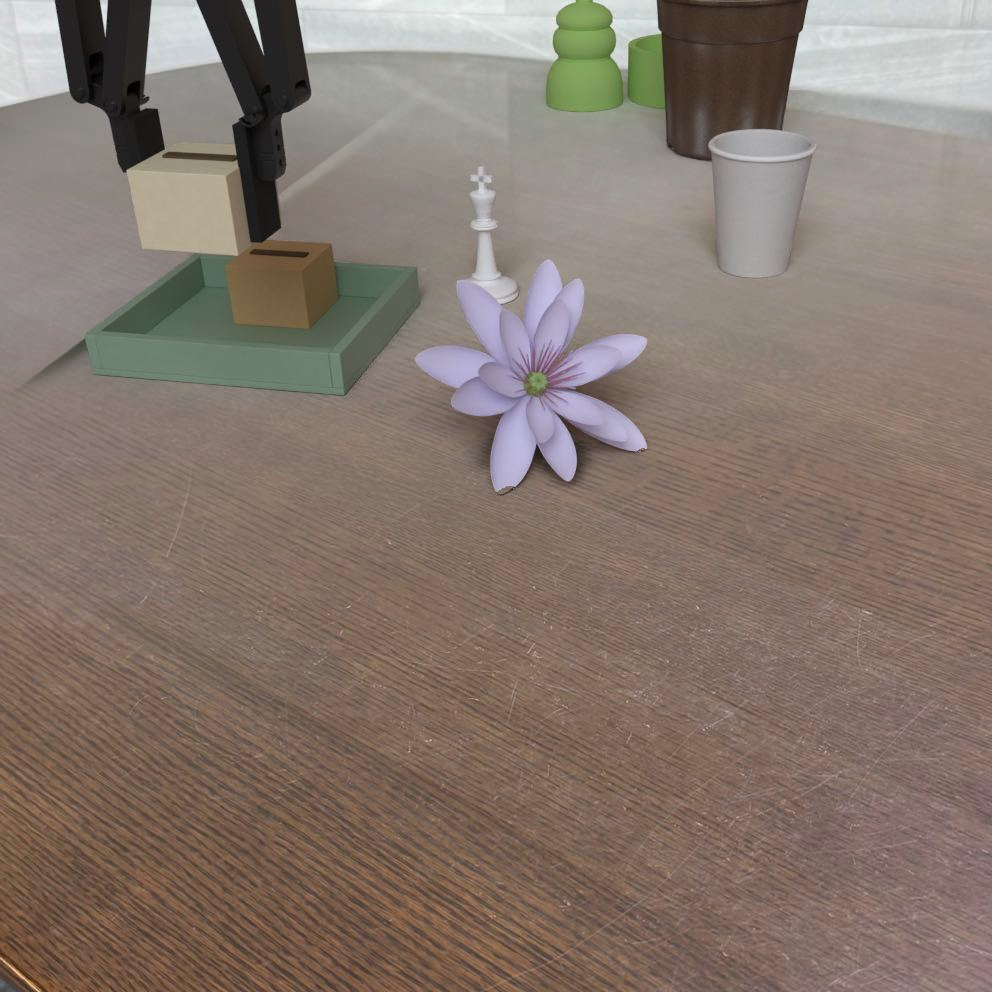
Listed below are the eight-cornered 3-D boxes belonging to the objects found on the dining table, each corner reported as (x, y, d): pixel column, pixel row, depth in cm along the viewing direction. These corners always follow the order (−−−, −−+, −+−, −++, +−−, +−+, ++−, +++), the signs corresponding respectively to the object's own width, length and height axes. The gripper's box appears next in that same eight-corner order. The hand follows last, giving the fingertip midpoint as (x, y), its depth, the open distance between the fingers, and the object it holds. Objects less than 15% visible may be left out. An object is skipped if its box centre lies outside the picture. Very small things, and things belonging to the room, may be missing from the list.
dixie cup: (690, 277, 97) (696, 151, 92) (716, 244, 104) (723, 125, 98) (793, 289, 95) (805, 160, 89) (813, 254, 101) (826, 132, 96)
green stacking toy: (723, 79, 157) (729, -26, 151) (761, 104, 145) (769, -9, 139) (536, 92, 154) (533, -16, 147) (559, 119, 142) (557, 3, 135)
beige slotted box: (141, 249, 69) (125, 167, 66) (191, 216, 73) (177, 138, 71) (238, 256, 67) (225, 172, 65) (282, 222, 72) (271, 143, 70)
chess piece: (504, 309, 92) (499, 178, 87) (446, 302, 94) (437, 173, 88) (527, 286, 96) (524, 160, 91) (470, 280, 98) (464, 155, 92)
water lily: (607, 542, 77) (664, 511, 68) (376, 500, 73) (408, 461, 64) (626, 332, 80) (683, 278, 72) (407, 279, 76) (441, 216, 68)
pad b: (234, 323, 90) (224, 263, 87) (266, 294, 95) (258, 236, 92) (309, 329, 88) (301, 268, 86) (338, 299, 93) (331, 241, 91)
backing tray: (93, 374, 84) (83, 334, 82) (201, 288, 97) (194, 252, 96) (344, 395, 80) (339, 354, 78) (420, 303, 94) (417, 266, 92)
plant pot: (785, 173, 121) (801, 0, 112) (630, 162, 126) (634, -6, 117) (809, 133, 134) (824, -25, 125) (667, 124, 138) (673, -29, 130)
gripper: (347, -245, 59) (388, 220, 71) (7, -237, 63) (102, 202, 75) (285, -245, 53) (340, 264, 65) (-88, -237, 57) (32, 241, 69)
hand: (213, 230), depth 70 cm, fingers closed on beige slotted box, 6 cm apart
